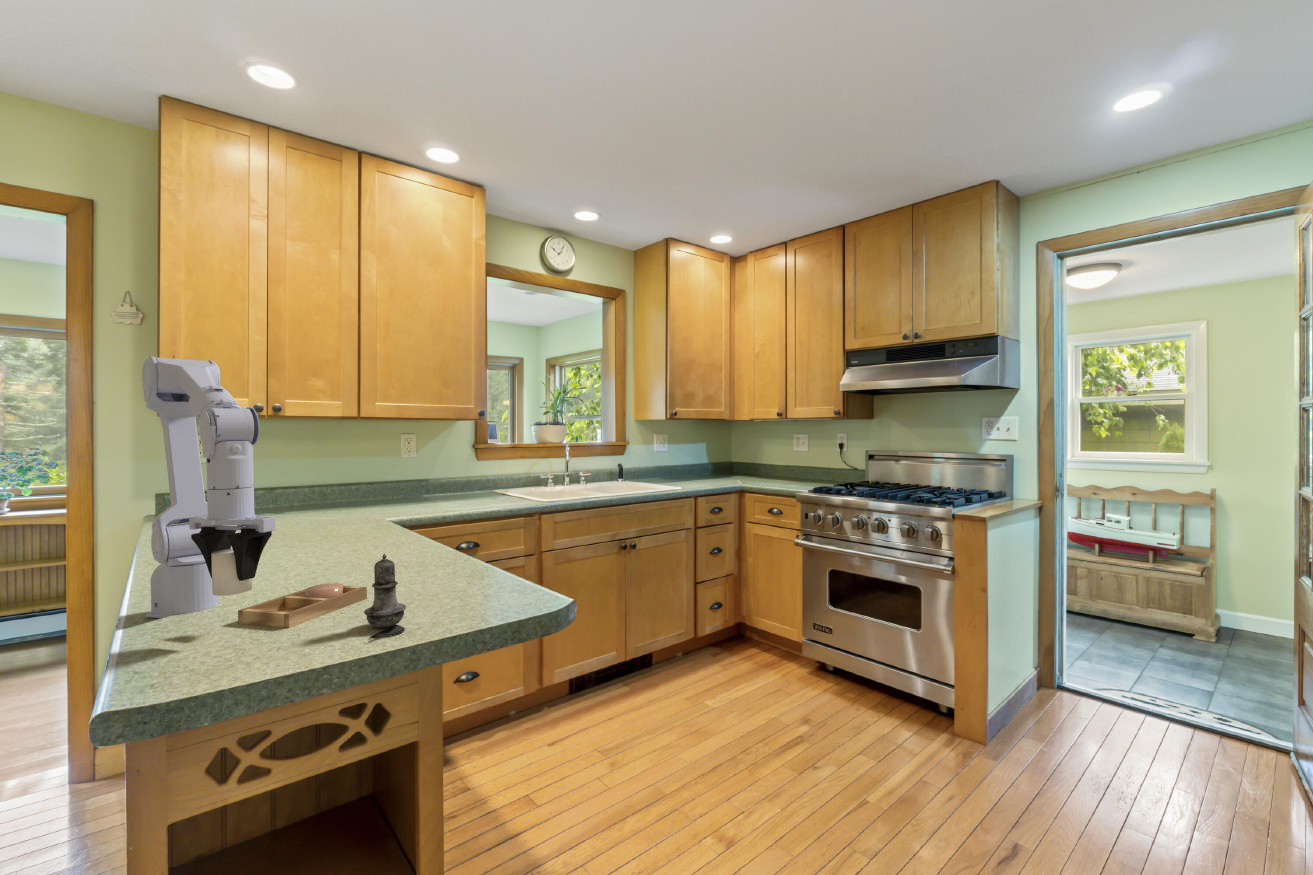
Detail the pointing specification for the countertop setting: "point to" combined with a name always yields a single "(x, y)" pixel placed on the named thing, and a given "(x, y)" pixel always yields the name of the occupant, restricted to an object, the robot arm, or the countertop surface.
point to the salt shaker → (385, 601)
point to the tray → (298, 608)
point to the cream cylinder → (227, 574)
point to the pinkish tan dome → (325, 590)
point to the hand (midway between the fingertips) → (233, 578)
